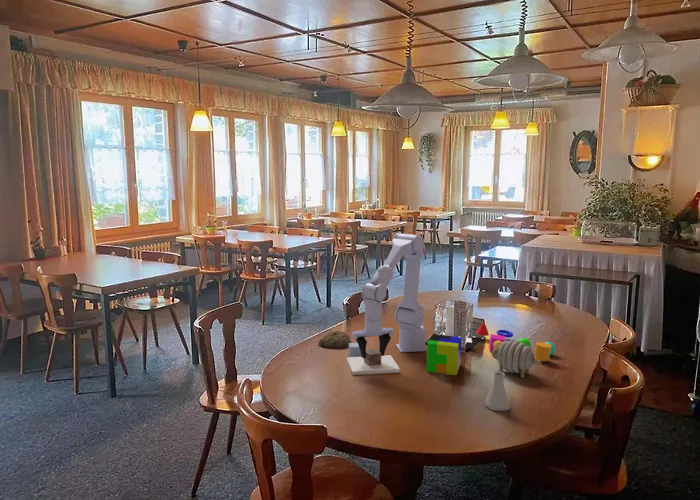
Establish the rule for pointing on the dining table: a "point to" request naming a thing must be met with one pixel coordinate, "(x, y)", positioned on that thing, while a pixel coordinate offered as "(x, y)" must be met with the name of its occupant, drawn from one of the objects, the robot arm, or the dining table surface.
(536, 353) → the shape set
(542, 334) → the dining table surface
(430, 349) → the puzzle toy
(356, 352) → the slate block
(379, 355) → the walnut block
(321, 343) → the bread roll
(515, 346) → the toy sheep
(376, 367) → the baseplate
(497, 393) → the flask
